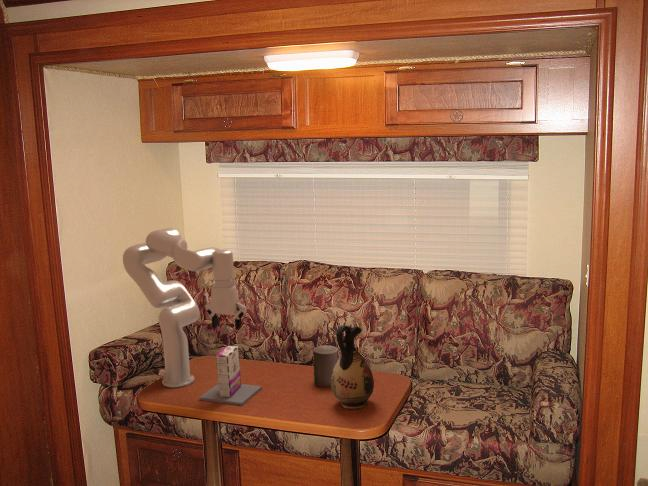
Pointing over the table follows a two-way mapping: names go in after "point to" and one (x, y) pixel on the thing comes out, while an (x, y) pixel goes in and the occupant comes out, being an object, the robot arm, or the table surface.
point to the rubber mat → (237, 399)
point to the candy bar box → (228, 371)
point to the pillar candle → (324, 364)
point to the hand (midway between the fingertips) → (226, 327)
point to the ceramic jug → (351, 372)
